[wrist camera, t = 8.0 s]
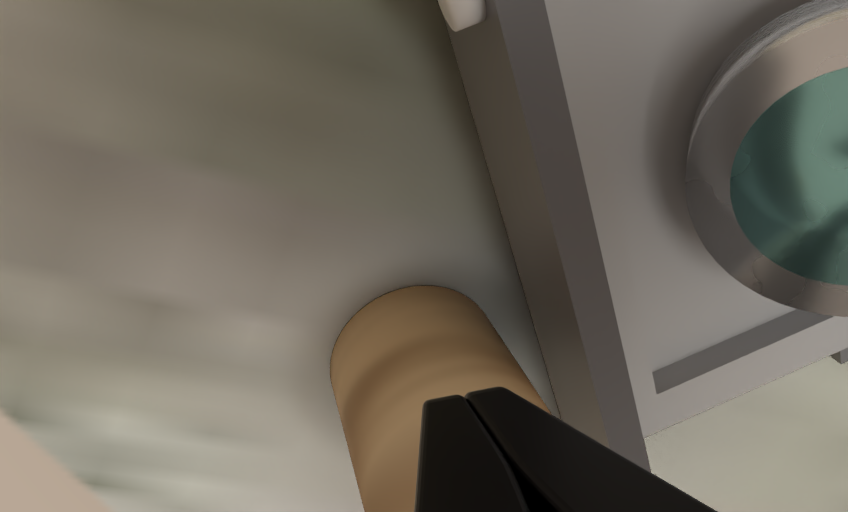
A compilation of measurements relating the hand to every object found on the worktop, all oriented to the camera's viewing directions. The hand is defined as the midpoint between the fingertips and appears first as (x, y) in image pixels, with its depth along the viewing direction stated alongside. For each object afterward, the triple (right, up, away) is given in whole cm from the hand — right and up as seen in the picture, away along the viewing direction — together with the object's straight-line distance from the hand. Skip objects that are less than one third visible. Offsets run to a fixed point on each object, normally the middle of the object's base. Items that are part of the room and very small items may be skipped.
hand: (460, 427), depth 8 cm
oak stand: (-1, -1, +12) cm, 12 cm away
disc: (+9, +4, +9) cm, 13 cm away
